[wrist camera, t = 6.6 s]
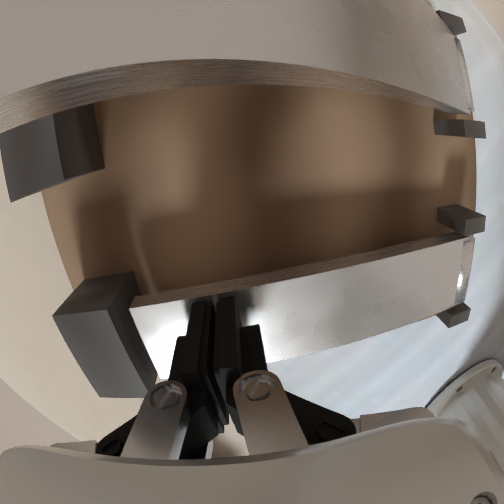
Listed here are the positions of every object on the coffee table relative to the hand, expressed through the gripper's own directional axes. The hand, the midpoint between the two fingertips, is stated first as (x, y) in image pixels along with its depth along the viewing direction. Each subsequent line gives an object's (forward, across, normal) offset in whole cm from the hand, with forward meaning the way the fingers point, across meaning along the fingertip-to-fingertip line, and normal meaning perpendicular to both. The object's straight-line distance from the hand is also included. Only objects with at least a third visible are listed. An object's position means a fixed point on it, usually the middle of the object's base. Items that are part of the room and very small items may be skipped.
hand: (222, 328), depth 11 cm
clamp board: (+5, -4, -4) cm, 7 cm away
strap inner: (+1, -5, 0) cm, 5 cm away
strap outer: (-3, -6, -10) cm, 12 cm away
